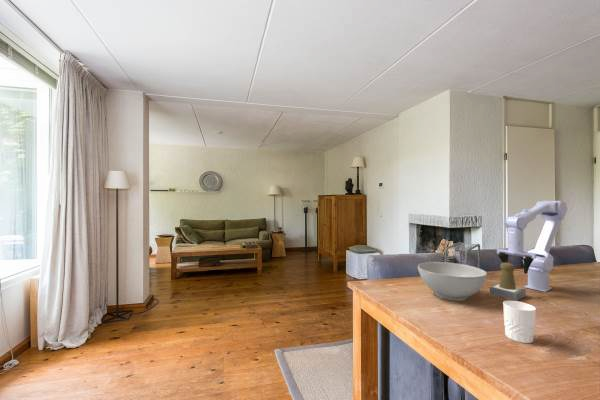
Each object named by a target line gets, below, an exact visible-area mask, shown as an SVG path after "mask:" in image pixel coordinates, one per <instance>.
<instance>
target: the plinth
mask: <svg viewBox="0 0 600 400" xmlns="http://www.w3.org/2000/svg"><path fill="white" fill-rule="evenodd" d="M515 287H516V289H515V290H509V289H504V288H501V287H499V283H498V284H494V285H491V286H489V294H490V295H494V296H497V297H501V298H505V299H509V300H511V301H518V300H520V299H523V298H525V297H526V291H527V290H526V288H522V287H517V286H515Z"/></svg>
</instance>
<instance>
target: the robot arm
mask: <svg viewBox="0 0 600 400" xmlns="http://www.w3.org/2000/svg"><path fill="white" fill-rule="evenodd" d="M567 211H568V205H567V203H566V202H565V201H564V200H539V201H537V202H536V204H535V205H534V206H533V207H532V208H530V209H525V208H524V209H522V210H521V212H519V213H516V214H514V215H513V216H508V217H507V218H506V219H505V220H504V226H505V228H506V232H507V249H501V248H497V249H496V254H498V258H499V259H500V261H501V263H509V256H515V257H522V263H523V273H524V274H527V284H526V285H524V288H525V289H526V288H527V289H531V290H534V291H540V292H544V293H545V292H547V291H550V290H551V289H553V287H552V286H550V274H549V272H550V271H551V270H552V269H553V268H554V260H555V258H554V257H553V255H552V254H551V253H549V252H550V250H551V248H552V246H553V243H554V239H555V238H556V235H557V232H558V230H559V227H560V225H561V222H562V221H563V220H564V219H565V216H566V214H567ZM538 215H540V217H541V219H543V220H545V222H544V224H543V228H542V230H541V232H540V235H539V236H538V239H537V241H536V244H535V248H533V249H530V250H528V251H527V252H526V251H525V249H524V248H525V247H524V244H525V243H524V239H525V238H524V235H525V234H524V232H525V229H526V228H527V227H528V225H529V224H530V223H531V222H533V221H535V219H536V218H537V217H536V216H538Z"/></svg>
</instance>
